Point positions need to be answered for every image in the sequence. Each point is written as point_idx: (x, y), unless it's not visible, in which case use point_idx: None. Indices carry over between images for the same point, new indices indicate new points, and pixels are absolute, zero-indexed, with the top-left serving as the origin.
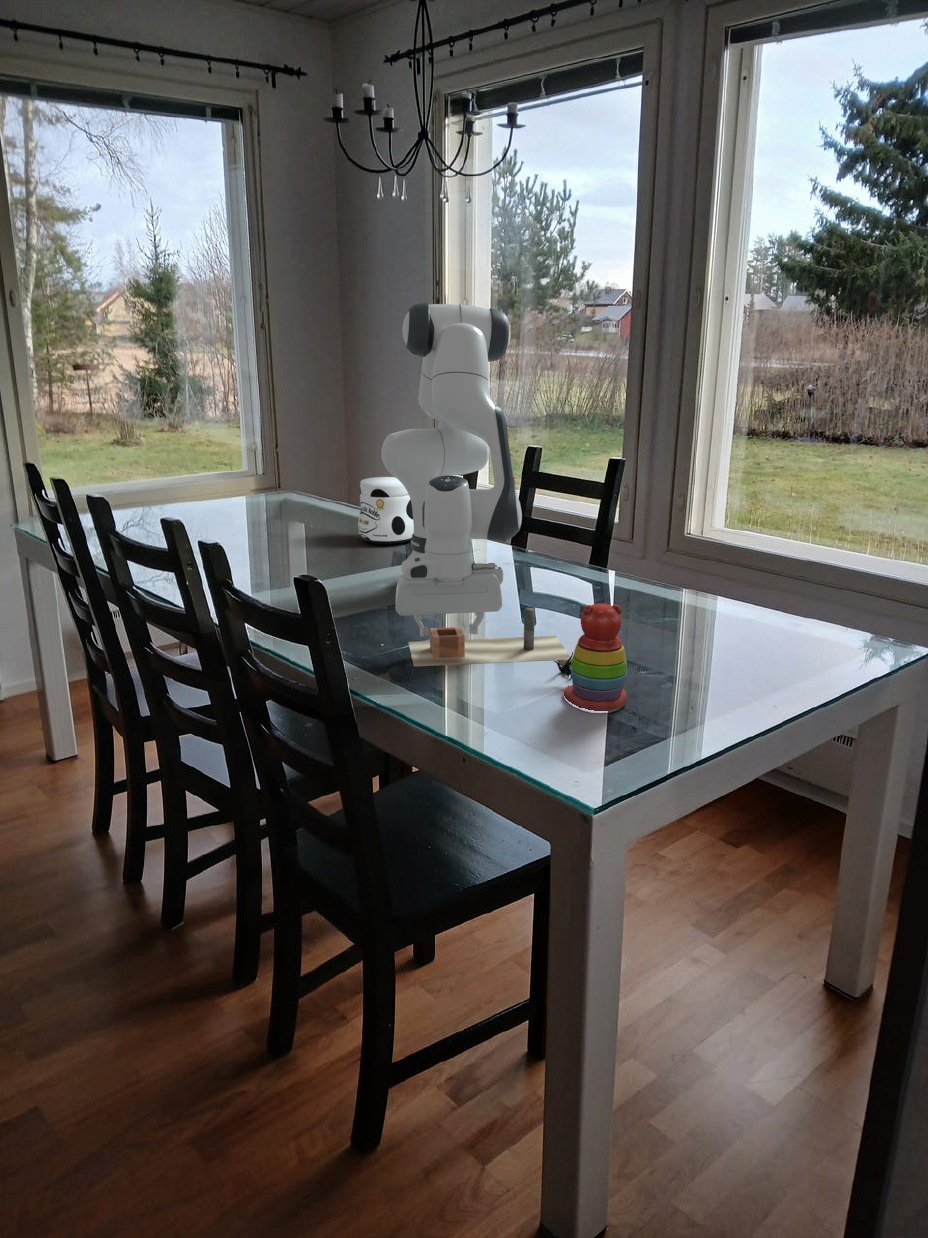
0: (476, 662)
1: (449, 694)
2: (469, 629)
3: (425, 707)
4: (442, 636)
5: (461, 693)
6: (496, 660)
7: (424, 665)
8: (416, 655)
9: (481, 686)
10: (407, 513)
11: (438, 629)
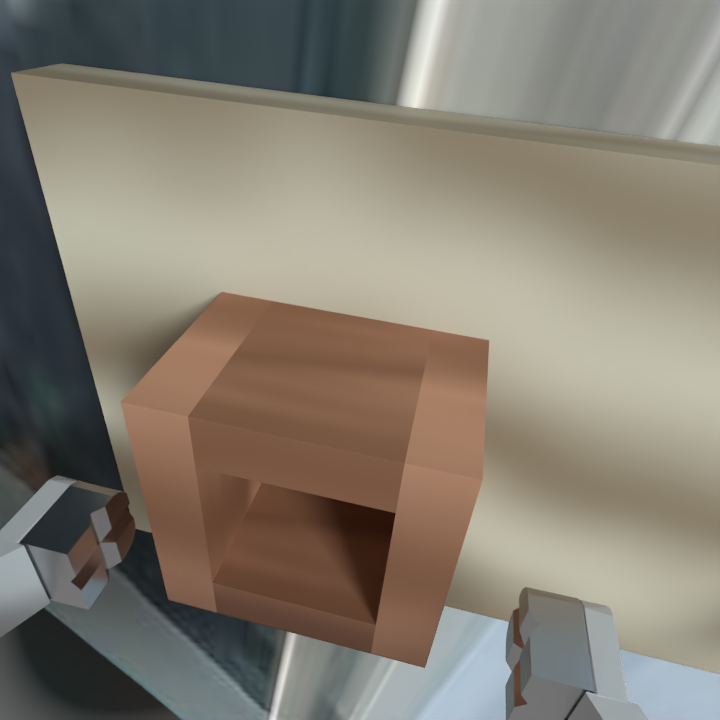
0: (481, 605)
1: (296, 671)
2: (525, 624)
3: (212, 694)
4: (242, 604)
5: (340, 681)
6: (619, 626)
7: None
8: None
9: (435, 675)
10: None
11: (213, 462)
